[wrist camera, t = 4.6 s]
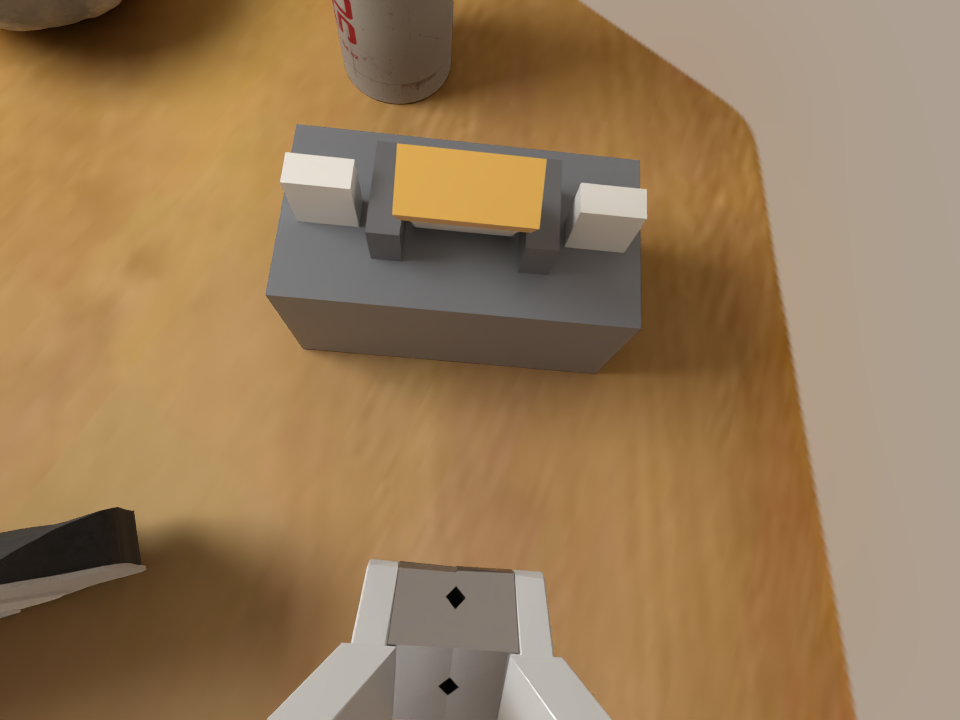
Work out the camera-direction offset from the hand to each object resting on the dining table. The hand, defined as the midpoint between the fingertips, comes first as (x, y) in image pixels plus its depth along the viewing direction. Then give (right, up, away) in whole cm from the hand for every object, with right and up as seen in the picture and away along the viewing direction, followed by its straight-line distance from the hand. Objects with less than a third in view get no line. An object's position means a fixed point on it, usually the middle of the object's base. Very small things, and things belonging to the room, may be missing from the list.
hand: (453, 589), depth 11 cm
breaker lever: (0, +12, +20) cm, 23 cm away
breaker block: (-1, +9, +30) cm, 31 cm away
